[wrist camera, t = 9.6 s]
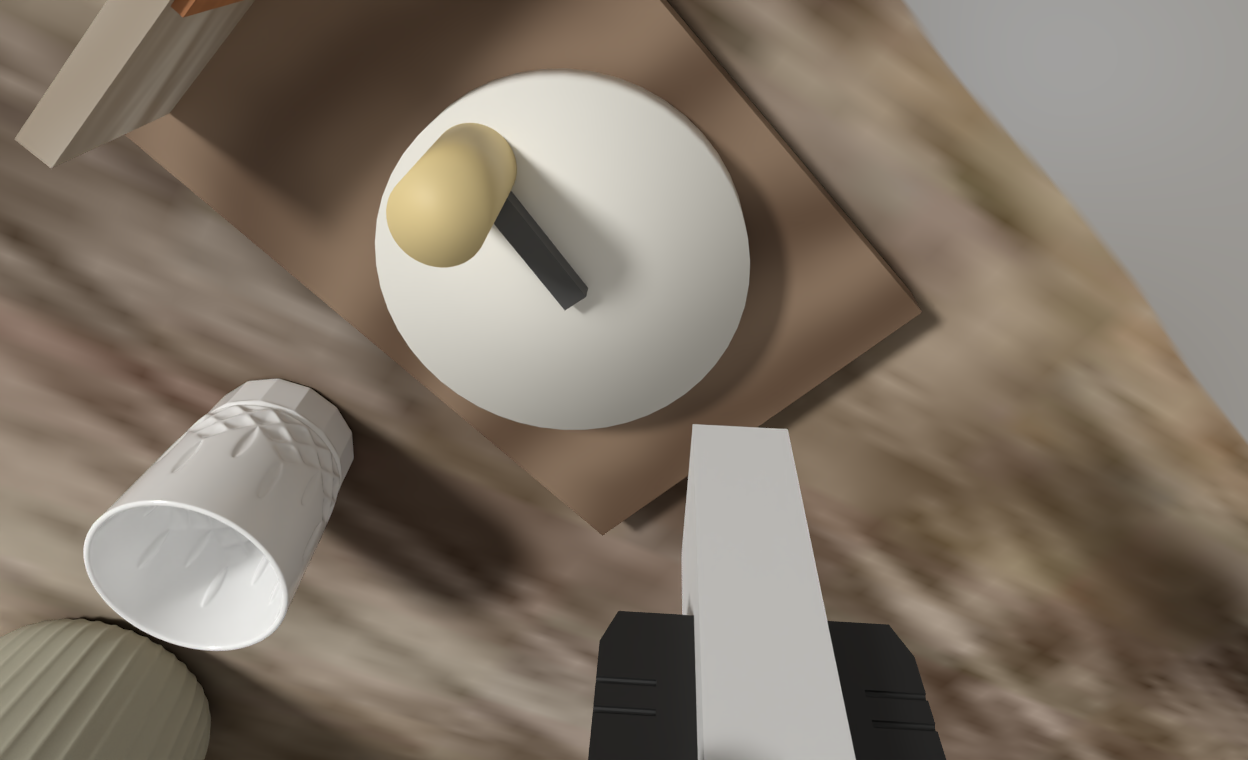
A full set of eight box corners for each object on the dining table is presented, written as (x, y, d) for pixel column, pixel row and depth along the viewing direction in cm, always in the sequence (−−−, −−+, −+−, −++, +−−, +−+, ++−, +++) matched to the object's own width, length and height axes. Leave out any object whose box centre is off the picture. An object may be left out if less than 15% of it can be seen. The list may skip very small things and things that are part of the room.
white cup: (399, 438, 41) (326, 585, 33) (309, 523, 44) (222, 678, 36) (261, 334, 39) (143, 465, 30) (176, 433, 42) (47, 577, 33)
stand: (910, 291, 36) (975, 404, 28) (605, 508, 43) (590, 648, 35) (423, -291, 27) (320, -359, 19) (134, 105, 34) (-28, 173, 26)
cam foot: (812, 296, 34) (844, 395, 27) (539, 454, 38) (512, 571, 32) (604, -19, 28) (584, 12, 22) (316, 210, 33) (229, 291, 27)
